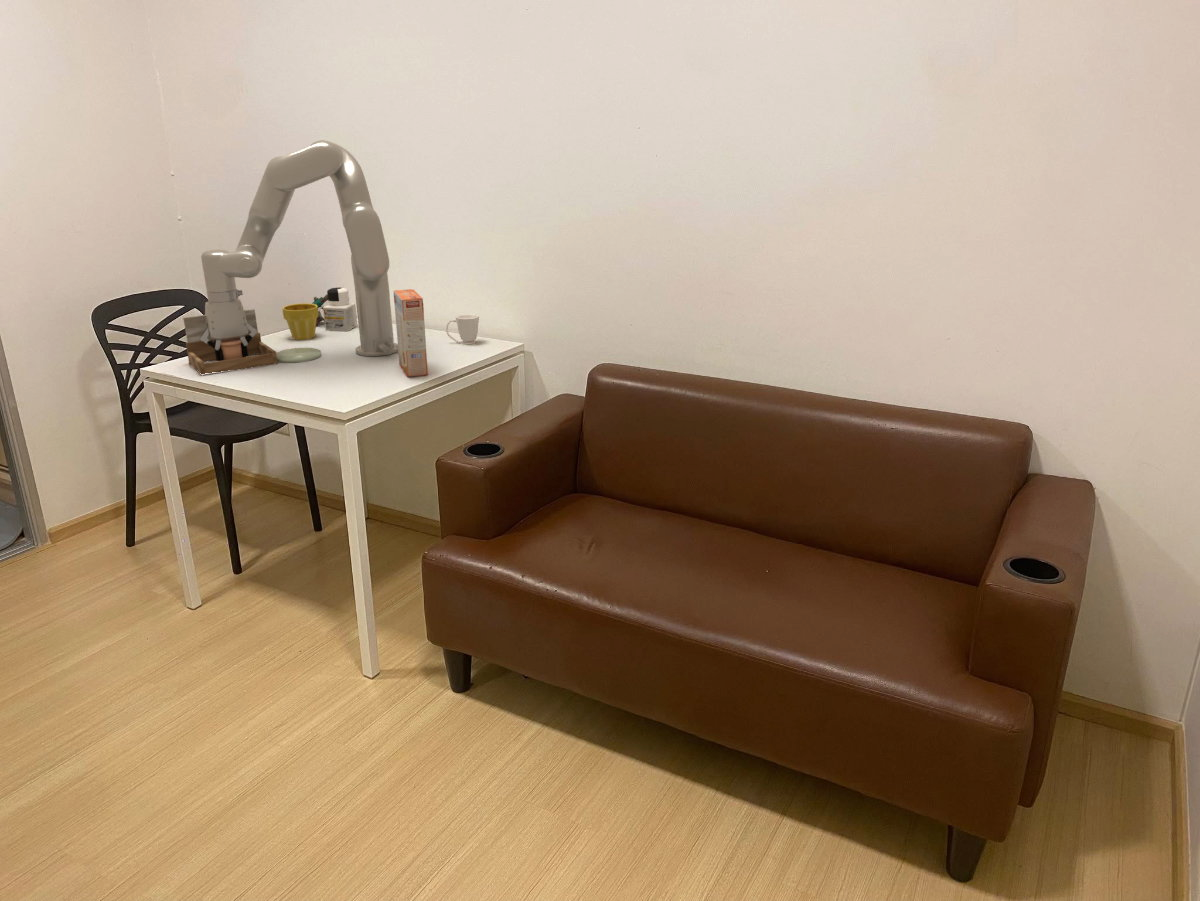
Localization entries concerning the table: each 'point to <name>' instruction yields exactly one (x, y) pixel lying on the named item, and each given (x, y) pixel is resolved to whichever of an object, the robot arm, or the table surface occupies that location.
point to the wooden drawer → (205, 352)
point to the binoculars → (319, 303)
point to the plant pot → (301, 320)
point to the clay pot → (231, 348)
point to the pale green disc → (298, 355)
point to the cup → (466, 328)
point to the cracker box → (411, 332)
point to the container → (339, 311)
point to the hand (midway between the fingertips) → (232, 360)
